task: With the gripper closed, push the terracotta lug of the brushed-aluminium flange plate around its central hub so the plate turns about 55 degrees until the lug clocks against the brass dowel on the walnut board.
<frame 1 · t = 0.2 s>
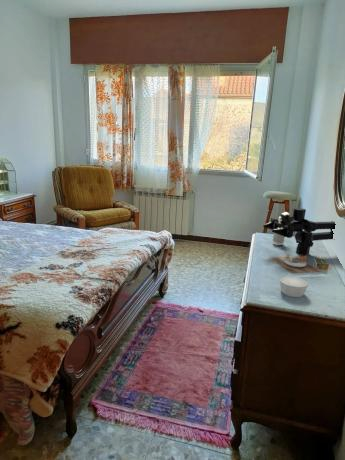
hand: (267, 228, 177), 17 cm above the table, tool horizontal, fingers open, 9 cm apart
ramekin: (292, 293, 138), on the table
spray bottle: (277, 244, 206), on the table
brass dowel: (287, 259, 176), resting on base board
flange plate: (297, 260, 169), point 3 cm above the table, hinge at 0.0°
base board: (294, 266, 169), on the table
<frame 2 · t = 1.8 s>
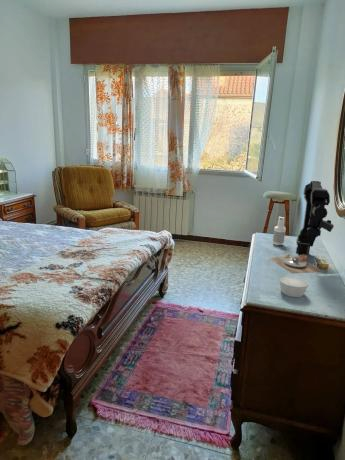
hand: (311, 244, 163), 13 cm above the table, tool pointing down, fingers open, 5 cm apart
nothing on the table moved.
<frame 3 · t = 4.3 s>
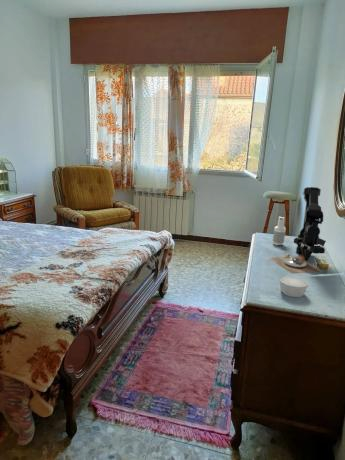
hand: (306, 260, 170), 3 cm above the table, tool pointing down, fingers closed
flange plate: (297, 260, 169), point 3 cm above the table, hinge at 0.0°, touching gripper
everything else where it was.
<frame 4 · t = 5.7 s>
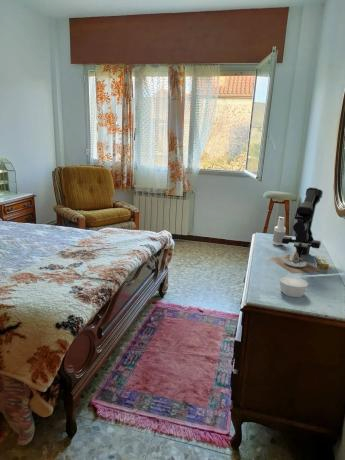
hand: (299, 257, 173), 3 cm above the table, tool pointing down, fingers closed
flange plate: (295, 259, 170), point 3 cm above the table, hinge at 35.2°, touching gripper
everything else where it was.
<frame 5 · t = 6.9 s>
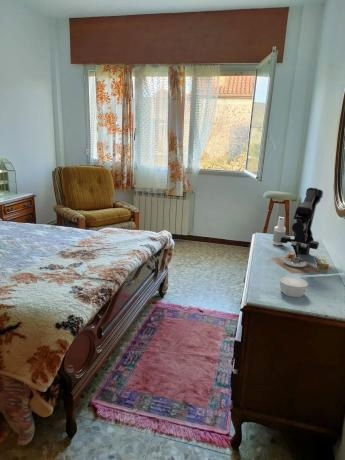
hand: (297, 257, 174), 3 cm above the table, tool pointing down, fingers closed
flange plate: (294, 259, 170), point 3 cm above the table, hinge at 55.1°, touching brass dowel
everything else where it was.
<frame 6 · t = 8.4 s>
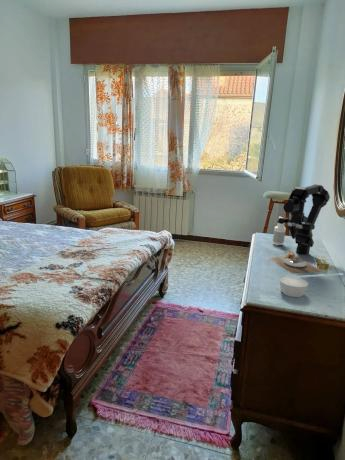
hand: (293, 238, 176), 12 cm above the table, tool pointing down, fingers closed
nothing on the table moved.
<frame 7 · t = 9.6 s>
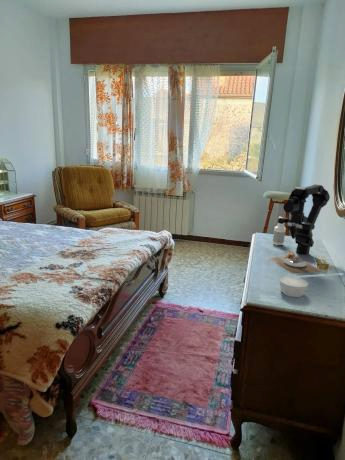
hand: (293, 238, 176), 12 cm above the table, tool pointing down, fingers closed
nothing on the table moved.
at the end: flange plate at +55° (first picture: +0°) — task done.
